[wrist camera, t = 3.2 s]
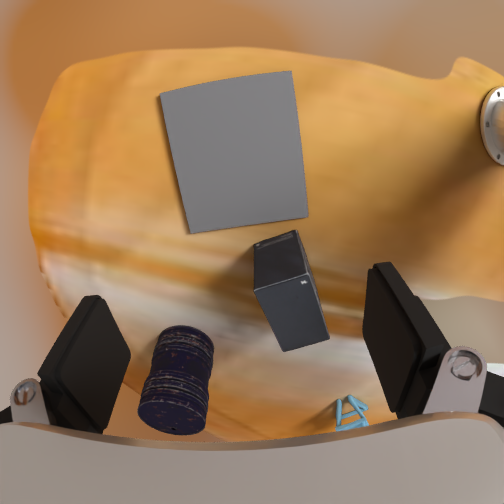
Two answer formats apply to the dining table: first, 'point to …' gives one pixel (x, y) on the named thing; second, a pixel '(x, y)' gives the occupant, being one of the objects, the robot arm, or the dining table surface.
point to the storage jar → (178, 382)
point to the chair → (355, 404)
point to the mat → (237, 151)
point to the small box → (288, 292)
